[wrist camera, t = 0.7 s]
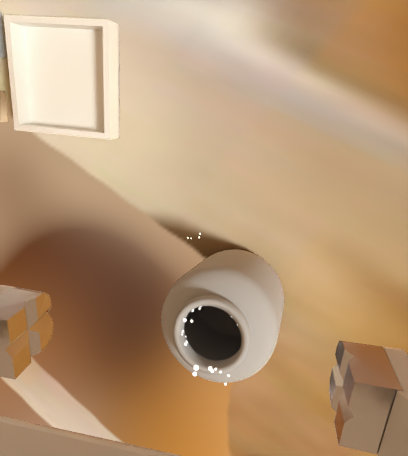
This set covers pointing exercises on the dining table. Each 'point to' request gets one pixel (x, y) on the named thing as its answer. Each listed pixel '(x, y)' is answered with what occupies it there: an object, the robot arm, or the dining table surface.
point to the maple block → (3, 107)
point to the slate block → (2, 39)
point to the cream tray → (64, 75)
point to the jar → (224, 316)
